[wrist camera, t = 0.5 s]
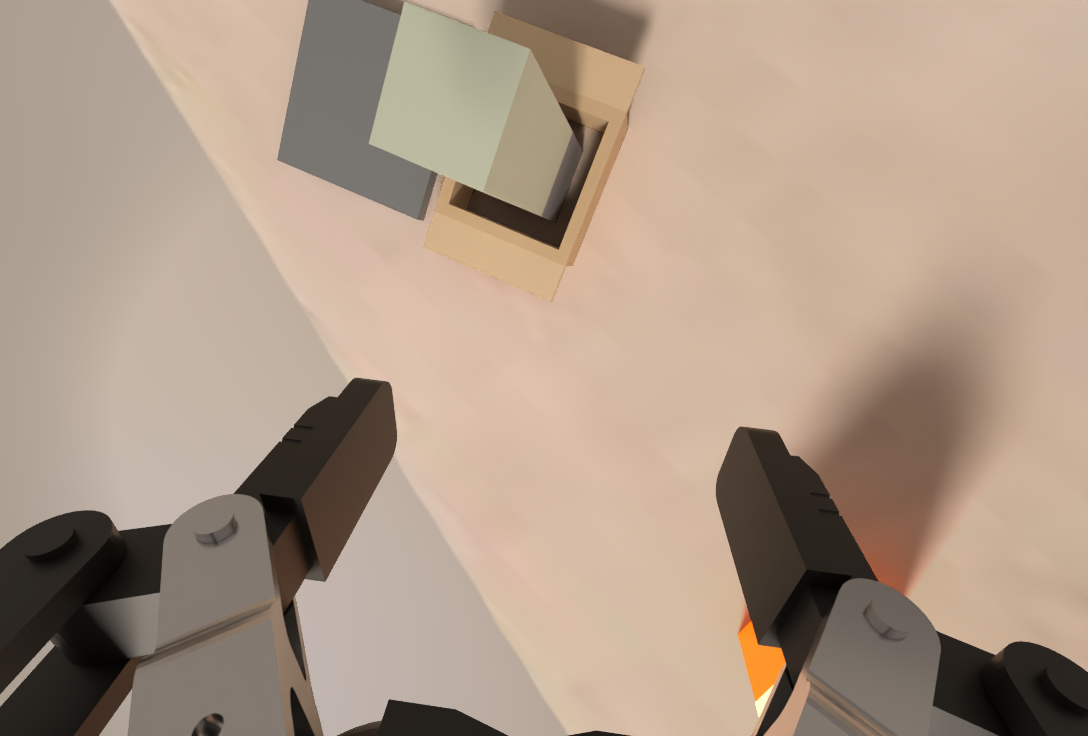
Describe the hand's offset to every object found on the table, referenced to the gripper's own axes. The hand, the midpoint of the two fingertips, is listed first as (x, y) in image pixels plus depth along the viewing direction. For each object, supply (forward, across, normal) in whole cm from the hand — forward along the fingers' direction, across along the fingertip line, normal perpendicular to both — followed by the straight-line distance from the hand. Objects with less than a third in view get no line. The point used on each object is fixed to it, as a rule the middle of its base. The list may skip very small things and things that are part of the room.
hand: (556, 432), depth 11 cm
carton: (+26, +4, -1) cm, 26 cm away
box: (+26, +4, -1) cm, 26 cm away
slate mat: (+29, +16, -4) cm, 33 cm away
